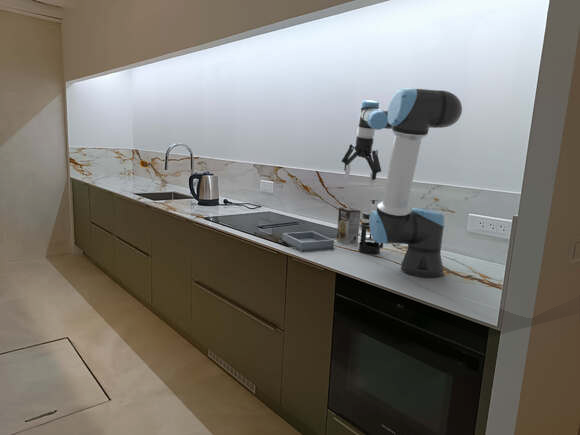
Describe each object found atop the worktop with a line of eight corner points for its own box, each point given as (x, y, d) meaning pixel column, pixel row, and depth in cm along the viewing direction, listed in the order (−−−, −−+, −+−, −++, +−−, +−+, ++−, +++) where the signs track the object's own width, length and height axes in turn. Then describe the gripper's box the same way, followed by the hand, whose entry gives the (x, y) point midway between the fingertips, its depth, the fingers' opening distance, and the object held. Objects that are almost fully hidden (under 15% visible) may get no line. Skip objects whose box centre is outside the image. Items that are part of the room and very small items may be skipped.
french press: (352, 250, 179) (356, 198, 174) (366, 247, 185) (370, 197, 181) (374, 256, 170) (379, 201, 166) (387, 253, 176) (392, 200, 172)
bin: (333, 248, 179) (334, 240, 178) (301, 251, 172) (302, 242, 171) (312, 239, 195) (312, 231, 194) (282, 241, 187) (282, 233, 186)
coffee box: (336, 240, 195) (338, 207, 192) (347, 240, 197) (350, 207, 195) (346, 245, 187) (349, 210, 184) (358, 244, 189) (361, 210, 186)
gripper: (394, 141, 177) (385, 187, 185) (347, 130, 192) (341, 173, 201) (384, 143, 172) (376, 191, 180) (337, 131, 187) (332, 176, 195)
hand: (358, 182), depth 190 cm, fingers open, 13 cm apart
